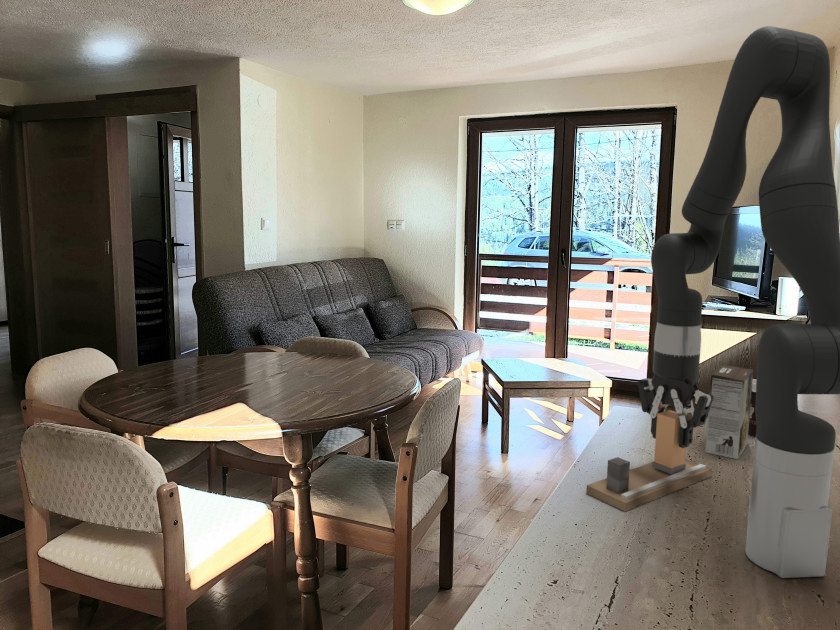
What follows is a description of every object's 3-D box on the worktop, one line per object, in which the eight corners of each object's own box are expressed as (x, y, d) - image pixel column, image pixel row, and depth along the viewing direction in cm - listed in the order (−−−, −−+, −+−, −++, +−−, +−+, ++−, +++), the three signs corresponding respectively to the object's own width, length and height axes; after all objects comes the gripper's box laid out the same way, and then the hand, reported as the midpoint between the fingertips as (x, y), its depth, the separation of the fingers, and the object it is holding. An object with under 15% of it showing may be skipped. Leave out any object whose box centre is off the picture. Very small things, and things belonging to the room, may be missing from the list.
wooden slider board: (672, 462, 125) (674, 429, 124) (711, 476, 119) (714, 442, 118) (586, 493, 112) (587, 457, 111) (624, 511, 106) (626, 473, 104)
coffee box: (714, 439, 137) (720, 364, 134) (747, 445, 134) (754, 368, 131) (703, 452, 130) (709, 373, 127) (739, 460, 126) (746, 378, 123)
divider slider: (666, 461, 121) (669, 409, 119) (685, 469, 117) (689, 415, 116) (652, 466, 118) (655, 413, 117) (671, 474, 115) (675, 419, 113)
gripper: (728, 353, 110) (720, 450, 113) (655, 339, 122) (649, 426, 125) (701, 360, 106) (694, 459, 109) (628, 344, 118) (623, 434, 121)
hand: (670, 441), depth 117 cm, fingers open, 4 cm apart
